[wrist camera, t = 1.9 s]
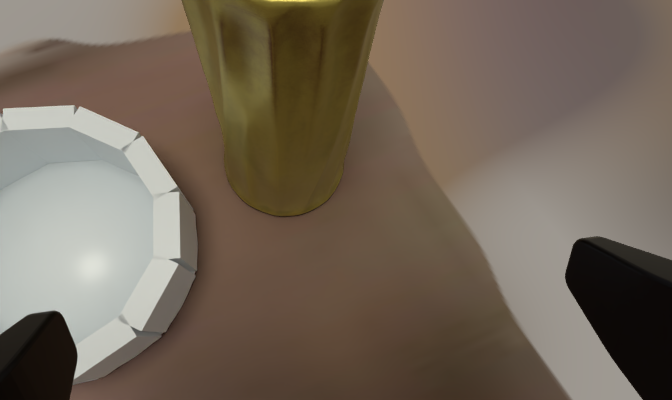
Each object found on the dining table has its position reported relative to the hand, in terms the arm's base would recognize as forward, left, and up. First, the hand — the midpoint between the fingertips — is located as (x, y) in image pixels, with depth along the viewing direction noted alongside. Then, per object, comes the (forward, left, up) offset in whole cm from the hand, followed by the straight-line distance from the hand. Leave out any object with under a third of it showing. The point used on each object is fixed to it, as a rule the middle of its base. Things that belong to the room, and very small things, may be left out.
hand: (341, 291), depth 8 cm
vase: (+8, 0, -14) cm, 16 cm away
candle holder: (+4, +10, -14) cm, 17 cm away
